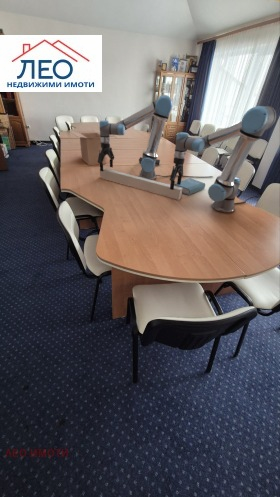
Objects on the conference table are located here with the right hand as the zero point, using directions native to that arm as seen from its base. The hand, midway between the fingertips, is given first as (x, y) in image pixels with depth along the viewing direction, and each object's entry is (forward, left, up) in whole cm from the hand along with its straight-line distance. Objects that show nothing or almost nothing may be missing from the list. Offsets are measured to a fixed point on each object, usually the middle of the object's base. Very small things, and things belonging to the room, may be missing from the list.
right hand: (175, 186), depth 167 cm
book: (-20, -13, -8) cm, 25 cm away
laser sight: (-10, -87, -8) cm, 88 cm away
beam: (+22, -24, -8) cm, 34 cm away
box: (+47, -103, -8) cm, 114 cm away
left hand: (+43, -48, 0) cm, 65 cm away
